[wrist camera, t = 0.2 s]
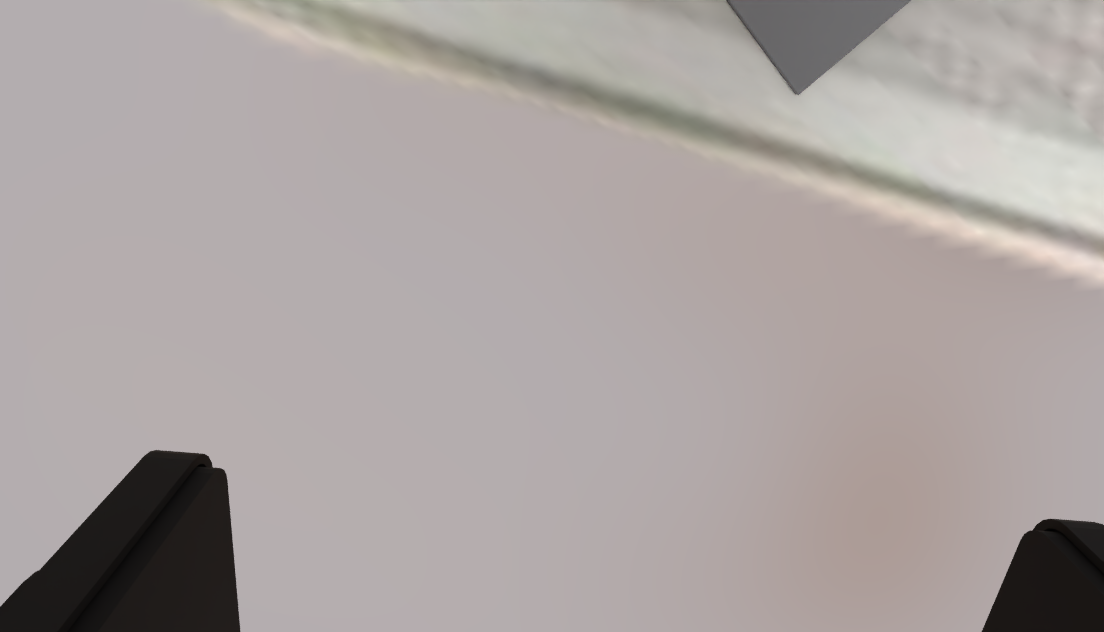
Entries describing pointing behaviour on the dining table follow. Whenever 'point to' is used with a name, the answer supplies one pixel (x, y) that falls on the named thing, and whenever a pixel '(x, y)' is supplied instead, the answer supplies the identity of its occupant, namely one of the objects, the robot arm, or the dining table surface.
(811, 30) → the mat
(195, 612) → the robot arm
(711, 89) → the dining table surface
